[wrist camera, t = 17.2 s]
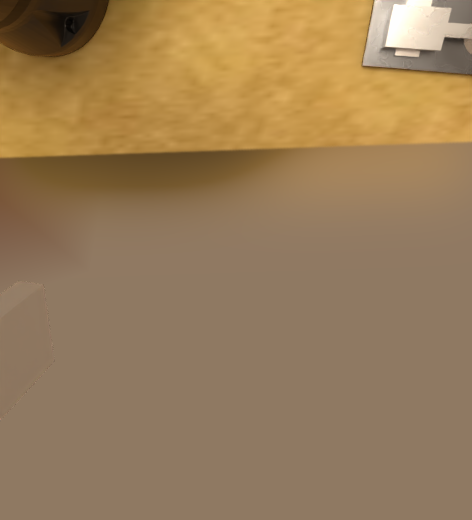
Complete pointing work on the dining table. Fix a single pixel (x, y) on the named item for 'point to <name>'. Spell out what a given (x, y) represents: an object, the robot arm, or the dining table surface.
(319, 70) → the dining table surface
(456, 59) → the plate
